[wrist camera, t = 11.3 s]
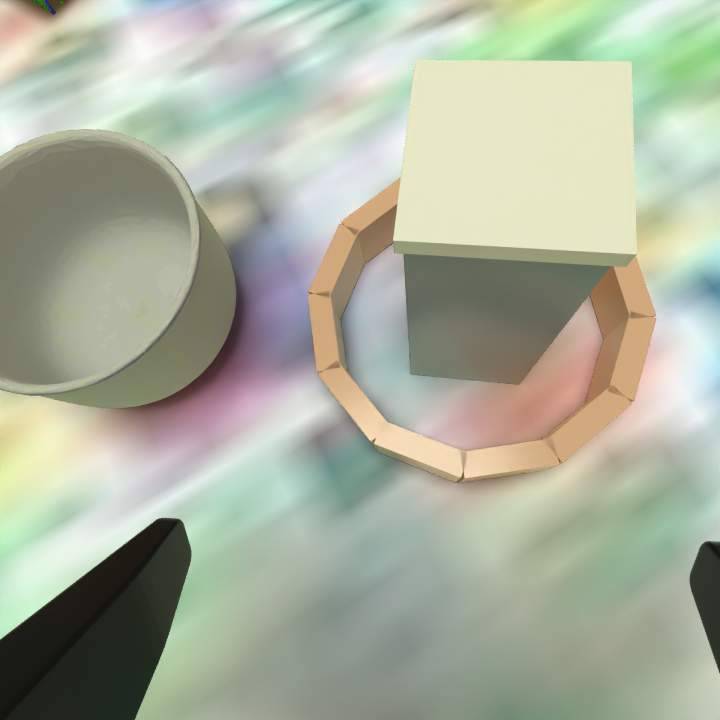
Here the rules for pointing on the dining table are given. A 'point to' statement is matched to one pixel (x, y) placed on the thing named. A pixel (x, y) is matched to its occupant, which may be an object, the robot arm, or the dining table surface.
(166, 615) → the robot arm
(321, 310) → the tan polygonal ring
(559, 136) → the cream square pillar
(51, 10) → the brown flat block
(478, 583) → the dining table surface
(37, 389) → the teacup
